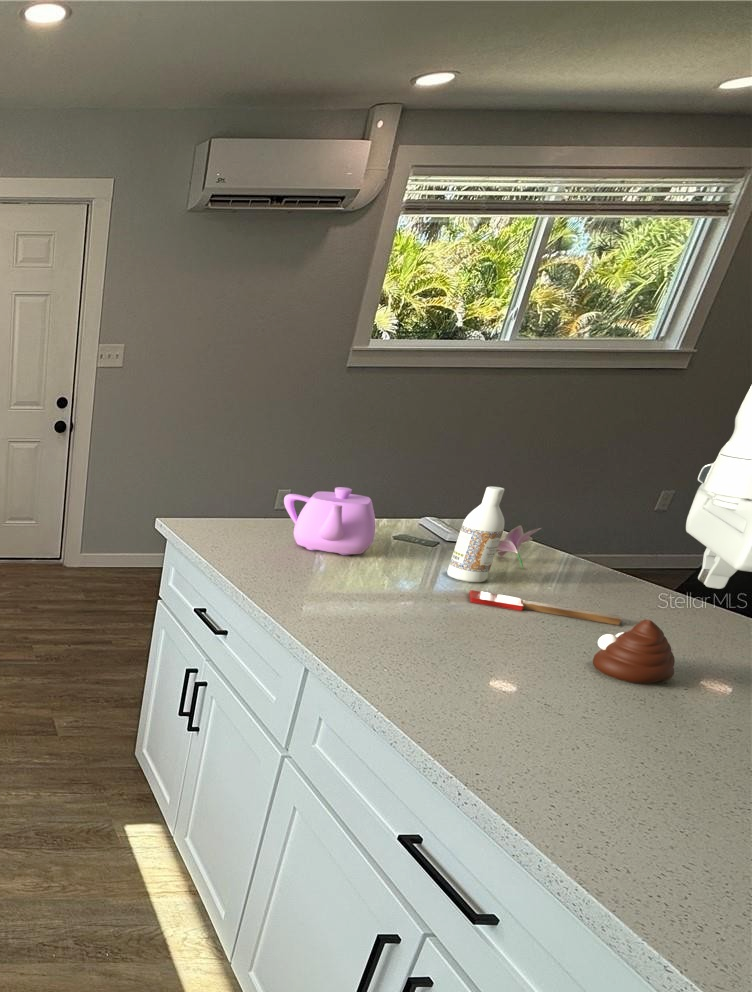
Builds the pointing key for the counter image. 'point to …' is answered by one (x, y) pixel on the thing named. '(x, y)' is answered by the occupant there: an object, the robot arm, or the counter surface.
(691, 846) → the counter surface
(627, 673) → the poop emoji
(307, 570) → the counter surface
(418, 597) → the counter surface
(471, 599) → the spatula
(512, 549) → the lily
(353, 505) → the teapot
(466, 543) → the bath foam
